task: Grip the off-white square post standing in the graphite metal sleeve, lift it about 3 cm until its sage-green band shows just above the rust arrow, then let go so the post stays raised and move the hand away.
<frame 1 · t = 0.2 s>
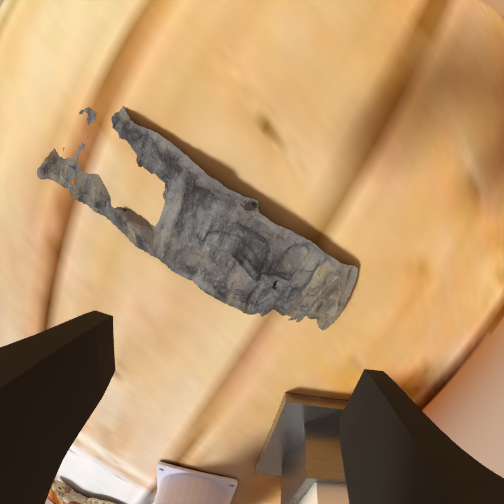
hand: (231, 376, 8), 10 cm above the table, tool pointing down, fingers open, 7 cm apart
sleeve stand: (328, 440, 22), on the table
decorative turtle: (96, 503, 33), on the table
driftwood: (194, 210, 18), on the table
post: (333, 493, 17), point 5 cm above the table, slide at 0.0 cm
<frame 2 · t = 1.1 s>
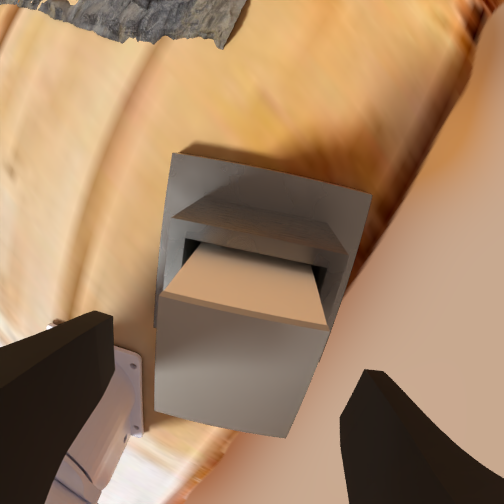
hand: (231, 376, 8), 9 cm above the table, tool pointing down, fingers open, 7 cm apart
sleeve stand: (254, 261, 17), on the table
post: (244, 308, 12), point 5 cm above the table, slide at 0.0 cm
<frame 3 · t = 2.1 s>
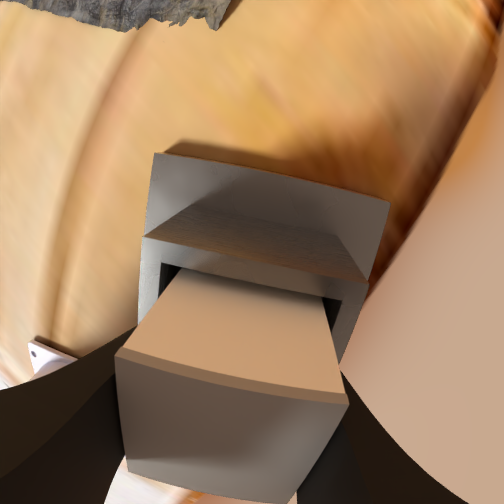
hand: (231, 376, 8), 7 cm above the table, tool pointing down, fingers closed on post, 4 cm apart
sleeve stand: (251, 279, 15), on the table
post: (238, 345, 10), point 5 cm above the table, slide at 0.0 cm, touching gripper
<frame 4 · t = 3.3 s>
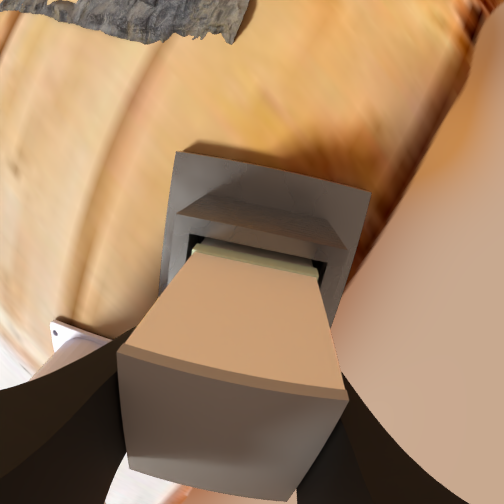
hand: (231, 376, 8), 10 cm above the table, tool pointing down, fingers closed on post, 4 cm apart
sleeve stand: (255, 258, 18), on the table
post: (238, 343, 10), point 8 cm above the table, slide at 2.9 cm, touching gripper
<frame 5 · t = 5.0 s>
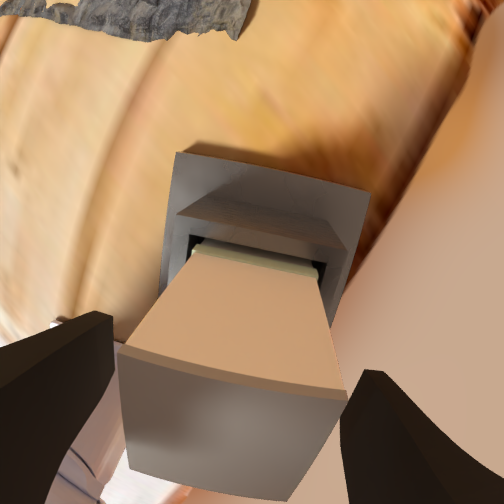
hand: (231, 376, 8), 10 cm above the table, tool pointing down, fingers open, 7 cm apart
sleeve stand: (255, 258, 18), on the table
post: (238, 343, 10), point 8 cm above the table, slide at 2.9 cm
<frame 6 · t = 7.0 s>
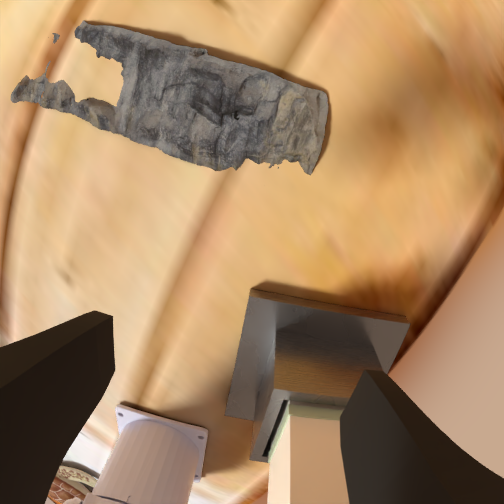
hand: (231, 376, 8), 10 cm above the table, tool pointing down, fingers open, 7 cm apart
sleeve stand: (311, 368, 20), on the table
decorative turtle: (69, 475, 31), on the table
driftwood: (152, 83, 16), on the table
post: (321, 469, 12), point 8 cm above the table, slide at 2.9 cm
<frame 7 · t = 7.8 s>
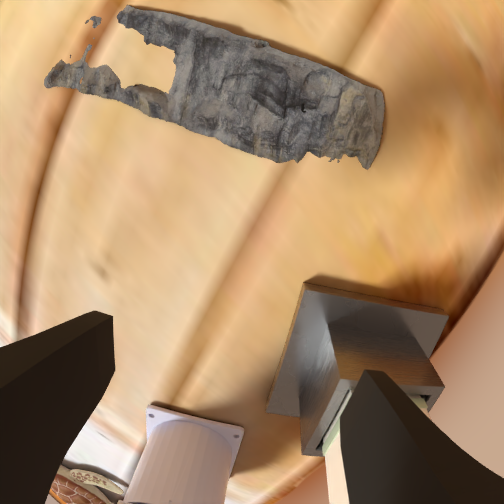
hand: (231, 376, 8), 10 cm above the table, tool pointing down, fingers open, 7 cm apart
sleeve stand: (354, 362, 20), on the table
decorative turtle: (82, 479, 31), on the table
driftwood: (206, 72, 16), on the table
post: (381, 457, 12), point 8 cm above the table, slide at 2.9 cm
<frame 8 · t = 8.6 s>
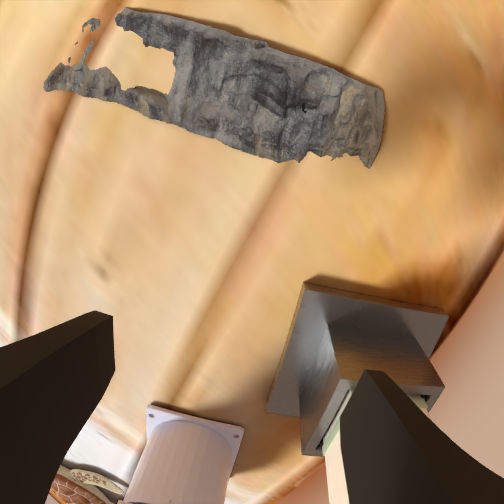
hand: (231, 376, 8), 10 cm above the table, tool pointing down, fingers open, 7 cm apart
sleeve stand: (354, 362, 20), on the table
decorative turtle: (82, 479, 31), on the table
driftwood: (206, 74, 16), on the table
post: (381, 457, 12), point 8 cm above the table, slide at 2.9 cm
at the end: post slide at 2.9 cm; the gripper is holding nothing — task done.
